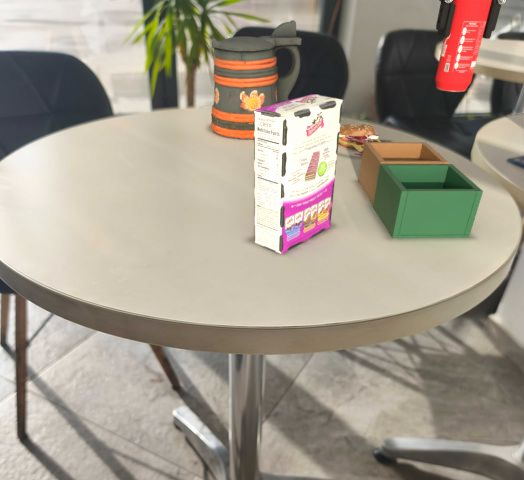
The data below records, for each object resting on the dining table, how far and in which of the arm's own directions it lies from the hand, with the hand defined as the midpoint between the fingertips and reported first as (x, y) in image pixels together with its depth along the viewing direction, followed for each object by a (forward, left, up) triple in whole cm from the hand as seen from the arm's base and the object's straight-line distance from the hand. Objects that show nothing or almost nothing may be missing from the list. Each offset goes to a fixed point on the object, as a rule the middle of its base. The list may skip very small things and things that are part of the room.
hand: (463, 35), depth 71 cm
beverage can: (0, 0, -7) cm, 7 cm away
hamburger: (+8, -19, -22) cm, 30 cm away
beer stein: (+28, -33, -22) cm, 48 cm away
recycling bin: (+7, +16, -21) cm, 28 cm away
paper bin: (+7, +5, -21) cm, 23 cm away
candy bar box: (+26, +20, -22) cm, 39 cm away
